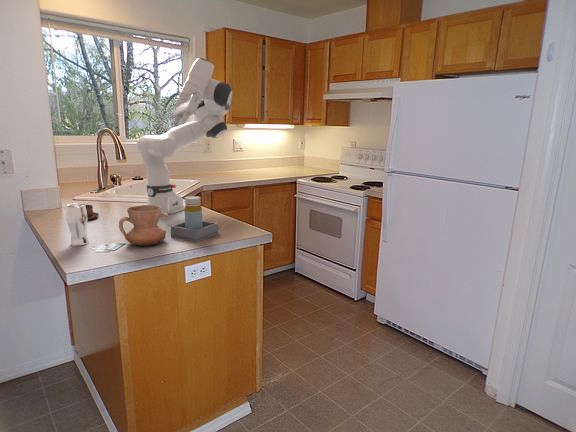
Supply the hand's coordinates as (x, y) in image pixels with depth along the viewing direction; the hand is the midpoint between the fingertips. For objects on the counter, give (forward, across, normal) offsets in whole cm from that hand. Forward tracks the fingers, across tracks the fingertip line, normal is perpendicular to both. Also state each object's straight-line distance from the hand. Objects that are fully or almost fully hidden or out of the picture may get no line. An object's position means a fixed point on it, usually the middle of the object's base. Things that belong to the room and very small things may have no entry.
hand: (178, 125), depth 156 cm
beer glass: (+58, +7, +14) cm, 60 cm away
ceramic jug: (+49, -5, -6) cm, 49 cm away
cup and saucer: (+51, +48, +11) cm, 71 cm away
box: (+39, -4, -23) cm, 46 cm away
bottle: (+38, -4, -22) cm, 45 cm away
